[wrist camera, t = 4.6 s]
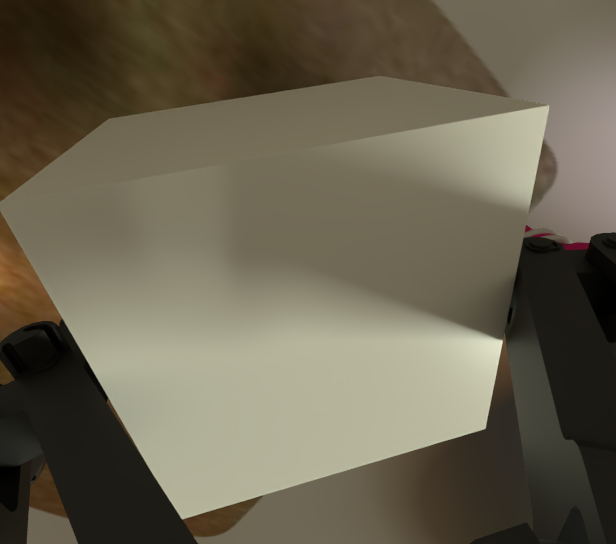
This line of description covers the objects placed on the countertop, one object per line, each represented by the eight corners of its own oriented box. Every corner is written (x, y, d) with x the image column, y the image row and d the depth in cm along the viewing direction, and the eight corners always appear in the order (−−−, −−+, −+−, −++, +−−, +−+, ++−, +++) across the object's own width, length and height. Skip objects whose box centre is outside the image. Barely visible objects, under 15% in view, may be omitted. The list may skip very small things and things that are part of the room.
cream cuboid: (189, 335, 19) (179, 520, 12) (109, 118, 14) (-4, 204, 6) (383, 289, 20) (484, 428, 13) (380, 75, 15) (549, 105, 8)
